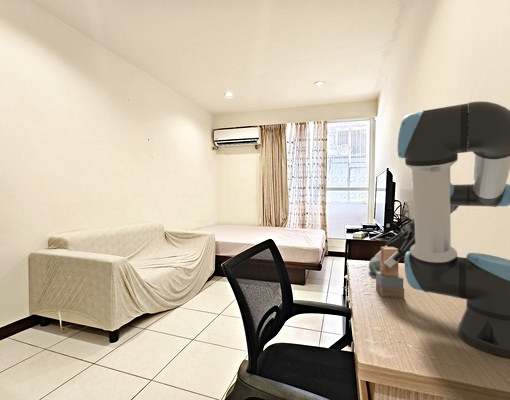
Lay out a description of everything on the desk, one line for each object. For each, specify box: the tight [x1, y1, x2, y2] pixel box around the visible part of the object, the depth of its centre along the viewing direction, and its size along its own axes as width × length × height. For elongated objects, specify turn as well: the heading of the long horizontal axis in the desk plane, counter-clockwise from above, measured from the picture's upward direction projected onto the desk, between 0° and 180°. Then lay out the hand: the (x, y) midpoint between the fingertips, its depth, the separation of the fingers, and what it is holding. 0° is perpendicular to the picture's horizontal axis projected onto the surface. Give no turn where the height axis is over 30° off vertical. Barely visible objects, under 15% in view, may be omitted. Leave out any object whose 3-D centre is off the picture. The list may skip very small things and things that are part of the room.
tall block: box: [380, 246, 399, 277], centre depth 105 cm, size 5×5×11 cm
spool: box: [368, 256, 381, 275], centre depth 133 cm, size 14×10×10 cm
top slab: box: [375, 271, 404, 289], centre depth 105 cm, size 8×8×4 cm
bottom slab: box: [375, 280, 405, 299], centre depth 105 cm, size 8×8×4 cm
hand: (381, 261), depth 105 cm, fingers open, 10 cm apart
